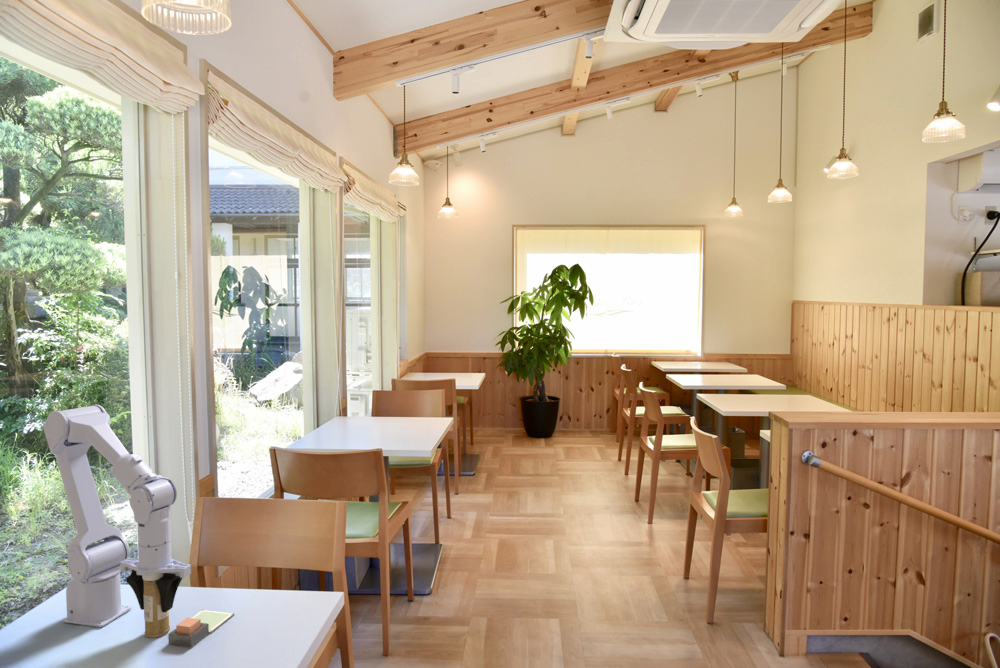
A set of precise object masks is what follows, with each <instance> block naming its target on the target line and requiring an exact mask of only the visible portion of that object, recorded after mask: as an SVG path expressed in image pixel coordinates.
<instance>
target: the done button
mask: <svg viewBox="0 0 1000 668" xmlns="http://www.w3.org/2000/svg"><path fill="white" fill-rule="evenodd" d="M200 627H201V619H194V618H192V617H185V618H184V619H183V620H182V621H181V622H179V623H178V624H176V625H175V629H177V633H181V634H189V635H191V634H192V633H193V632H195V631H196V630H197V629H199V628H200Z"/></svg>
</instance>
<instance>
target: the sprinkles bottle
mask: <svg viewBox="0 0 1000 668" xmlns="http://www.w3.org/2000/svg"><path fill="white" fill-rule="evenodd" d="M161 577H164V573H154V574H147V575H142V579H143V581H144V610H143V618H144V636H145V637H147V638H151V639H152V638H158V637H162V636H164V635H166V634H168V633H169V631H170V630H171V627H170V626H171V625H170V610H168V611H167V612H162V609H161V598H160V593H159V589H158V587H157V585H156V582H155V581H156V580H158V579H160V578H161Z"/></svg>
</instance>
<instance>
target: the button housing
mask: <svg viewBox="0 0 1000 668" xmlns="http://www.w3.org/2000/svg"><path fill="white" fill-rule="evenodd" d="M167 634H168V635H167V637H168V639H167V640H168V646H172V647H173V646H174V647H179V648H188V649H192V648H194V647H196V645H198V644H199V643H200V642H202V641H203V640H204V639H205V638H206V637H208V636H209V635H210V634H209V624H207V623H201V627H200V628H199V629H197V630H196V631H195V632H193V633H192V634H191V635H189V634H181V633H177V629H176V628H175V629H173V630H172V631H170V632H168V633H167Z"/></svg>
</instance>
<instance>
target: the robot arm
mask: <svg viewBox="0 0 1000 668" xmlns="http://www.w3.org/2000/svg"><path fill="white" fill-rule="evenodd" d="M43 431H44V434H45V438H46V442H47V446H48V449H49V452H50V454H52V455H54V456H55V460H56V463H57V464H56V465H57V467H58V470H59V473H60V474H59V475H60V477H61V480H62V484H63V488H64V491H65V494H66V498H67V502H68V506H69V509H70V511H71V515H72V520H73V522H74V526H75V529H76V535H75V537H74V538H73V539H72V541H71V542H70V543H69V544H68V545H67V546H66V553H67V570H68V572H69V575H70V576H71V579H70V580H69V581H68V583H67V586H66V590H65V595H66V597H65V599H66V600H65V601H66V618H64V619H63V623H67V624H75V625H81V626H83V625H84V626H89V627H90V626H91V627H97V628H102V627H105V626H106V625H108V624H109V623H111V622H112V621H114V620H116V619H117V618H119V617H120V616H123V615H124V614H125V613H127V612H129V611H130V610H132V606H130V605H124V604H123V605H122V589H121V587H122V586H121V572H127V571H129V572H131V573H130V575H128V576H127V577H126V578H125V582H126V583H127V584H128V585H129V586H130V588H131V589H132V591H133V593H134V595H135V597H136V599H137V602H138V605H139V608H140V610H141V611H144V581H143V579H142V575H147V574H154V573H164V577H161V578H160V579H158V580H156V581H155V582H156V585H157V587H158V589H159V593H160V598H161V609H162V612H167V611H168V610H169V611H170V610H171V609H173V607H174V601H175V597H176V594H177V591H178V589H179V587H180V584H181V582H182V580H183V579H185V578H187V577H188V576H191V575H192V565H191V564H190V563H189V564H188V563H184V562H181V561H179V560H176V559H174V558H172V530H171V529H172V527H171V519H172V518H171V506H172V505H174V504H175V502H176V500H177V499H178V498H177V496H178V492H177V487H176V485H175V483H174V482H173V481H172V479H171V478H169V477H167V476H162V475H161V474H157V473H155V472H154V470H153V469H152V468H151V467H150V466H149V465H148V463H146V461H145V460H143V457H141V456H140V455H139V454H135V453H132V454H130V453H129V451H128V450H127V449H126V448H125V446H124V445H123V443H122V442H121V441H120V439H119V437H118V436H117V434H115V432H114V430H112V428H111V416H110V414H109V413H107V411H106V409H105V408H104V406H102V405H100V404H92V405H88V406H82V407H78V408H70V409H65V410H63V409H62V410H54V411H51V412H50V413H49V414H48V415H47V418H46V419H45V422H44V425H43ZM91 446H92V447H93V448H94V449H95V450H96V451H97V452H98V453H99V454H101V456H103V457H104V458H105V460H107V462H109V464H111V465H112V467H111V475H112V476H113V477H114V478H115V480H116V481H117V482H118V483H119V484H120V486H122V488H123V490H125V491H126V493H127V494H128V495H129V496H130V497H129V498H128V502H129V506H130V508H131V510H132V512H133V519H134V521H135V523H137V549H138V550H137V551H138V553H137V554H138V557H137V558H135V557H134V558H133V557H132V558H131V557H130V553H131V552H130V546H129V544H128V542H127V540H126V539H125V538H124V536H123V534H122V531H121V529H120V528H118V527H117V526H116V527H115V526H113V525H111V524H108V523H107V521H106V517H105V514H104V511H103V507H102V504H101V503H102V502H101V500H100V496H99V493H98V490H97V486H96V483H95V480H94V476H93V473H92V469H91V466H90V463H89V458H88V455H87V453H88V451H89V449H90V447H91ZM101 540H102V541H101ZM98 541H101V542H98ZM94 542H98V543H94ZM92 543H94V544H92ZM90 544H92V545H90ZM88 545H89V546H88Z"/></svg>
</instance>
